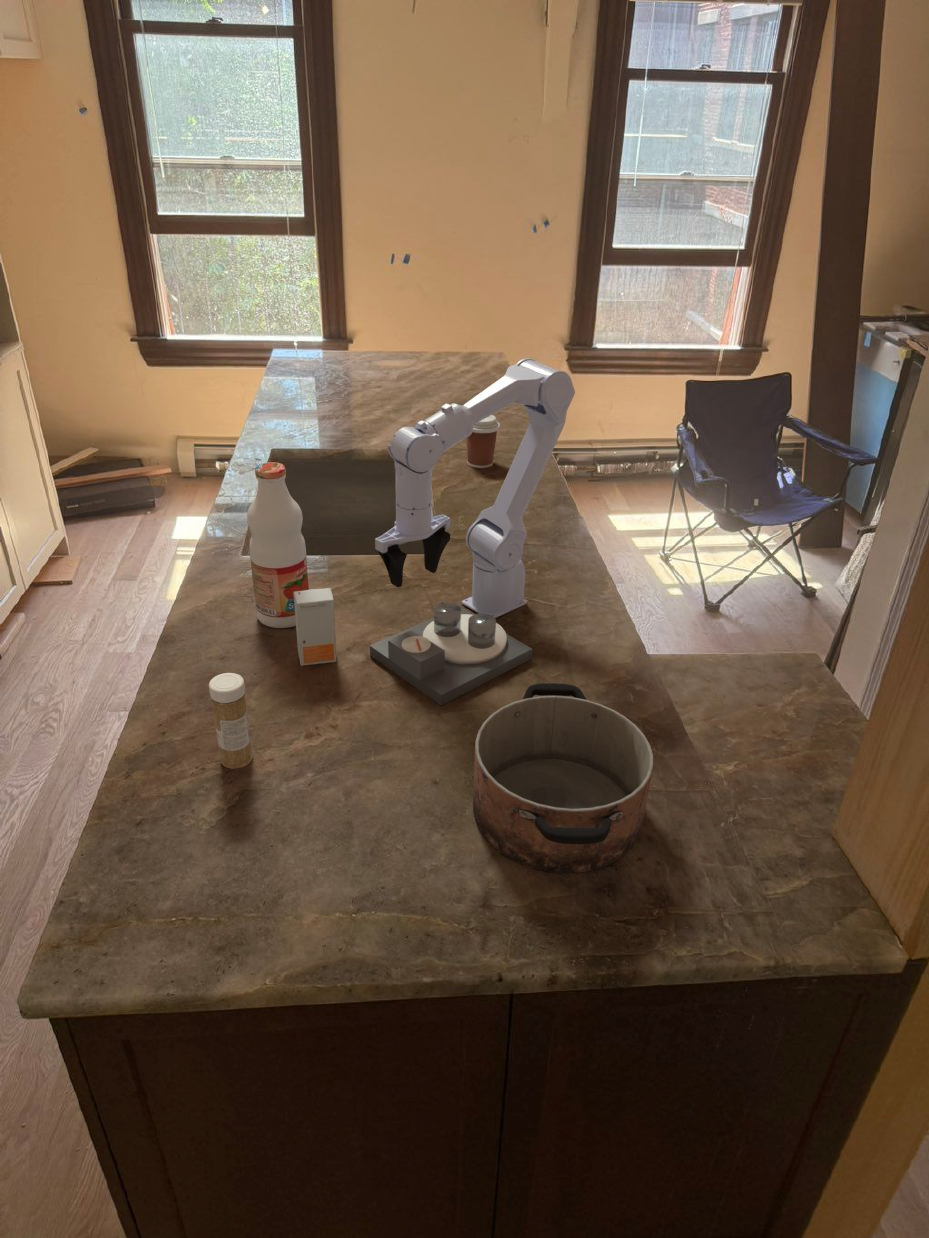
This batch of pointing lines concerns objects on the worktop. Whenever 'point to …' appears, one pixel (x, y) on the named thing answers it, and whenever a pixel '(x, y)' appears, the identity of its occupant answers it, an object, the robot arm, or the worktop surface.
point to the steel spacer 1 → (447, 619)
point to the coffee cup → (482, 443)
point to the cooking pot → (560, 781)
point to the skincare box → (315, 626)
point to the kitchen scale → (448, 659)
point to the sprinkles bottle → (231, 720)
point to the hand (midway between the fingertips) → (413, 577)
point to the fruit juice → (276, 548)
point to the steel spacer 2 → (481, 631)
